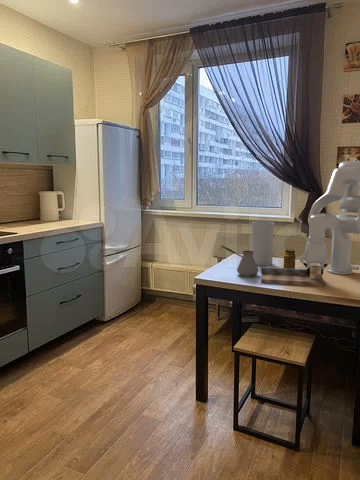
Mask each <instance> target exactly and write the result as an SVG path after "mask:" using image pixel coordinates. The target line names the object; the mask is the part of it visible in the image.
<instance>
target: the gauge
mask: <svg viewBox="0 0 360 480" xmlns="http://www.w3.org/2000/svg"><path fill="white" fill-rule="evenodd" d="M309 278H310V279H316V281H317V279H320V280H321V265H320V264H317V263H311V264H310V276H309Z"/></svg>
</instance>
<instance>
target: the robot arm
mask: <svg viewBox="0 0 360 480" xmlns="http://www.w3.org/2000/svg"><path fill="white" fill-rule="evenodd" d="M336 202H339V203H338V209H339V211H341V212H342V213H341V214H337V215H335V214H334V213H326V212H321V211H322V210H323V208H325V207H326V206H329V205H331V204H334V203H336ZM343 213H346V214H343ZM347 213H349V214H347ZM354 214H357V215H354ZM307 222H308V226H309V228H308V241H307V242H306V243H305V244H306V245H305V248H304V249H305V250H304V256H302V258H301V259H300V260H299V263H301V264H302V265H303V266H305V268H306V269H307V274H308V276H310V264H319V265H320V266H321V277H322V278H323V275H324V270H325V268H327V269H326V271H327V272H328V273H331V274H335V275H351V274H353V270H355V271H358V270H360V266H359V265H351V251H352V250H351V249H352V238H351V236H350V235H349V234H355V235H360V160H347V161H342V162H340V163H339V165H338V167H337V168H334V170H333V171H332V174H331V177H330V180H329V183H328V186H327V188H326V192H325V193H324V194H323V195H322V196H320V197H319V198H318V199H317V200H315V202H314V203H313V204H312V206H311V209H310V210H309V213H308V218H307ZM326 230H332V232H331V233H332V239H331V240H332V241H331V253H330V256H331V257H330V258H329V257H328V249H327V243H326V242H328V241H329V238H328V237H326ZM328 266H330V267H328Z"/></svg>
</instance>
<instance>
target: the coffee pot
mask: <svg viewBox="0 0 360 480" xmlns="http://www.w3.org/2000/svg"><path fill="white" fill-rule="evenodd" d="M222 248H223V249H224V250H227V251H228V252H230V253H232V254H234V255H237V256H238V257H240V258H241V259H240V262H239V263H238V266H237V268H236V272H237V273H238V274H239V275H240V277H244V278H252V277H255V276H256V275H257V274H258V273H259V268H258V265H256V263H255V260H254V258H253V253H254V251H251V250H241V252H242V254H240V253H238V252H236V251H234V250H232V249H230V248H228V247H226V246H224V245H220V247H219V249H222Z"/></svg>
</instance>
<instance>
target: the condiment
mask: <svg viewBox="0 0 360 480" xmlns="http://www.w3.org/2000/svg"><path fill="white" fill-rule="evenodd" d="M283 268H287V269H296V251H295V249H293V248H288V249H287V248H286V249H285V251H284V255H283Z"/></svg>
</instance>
